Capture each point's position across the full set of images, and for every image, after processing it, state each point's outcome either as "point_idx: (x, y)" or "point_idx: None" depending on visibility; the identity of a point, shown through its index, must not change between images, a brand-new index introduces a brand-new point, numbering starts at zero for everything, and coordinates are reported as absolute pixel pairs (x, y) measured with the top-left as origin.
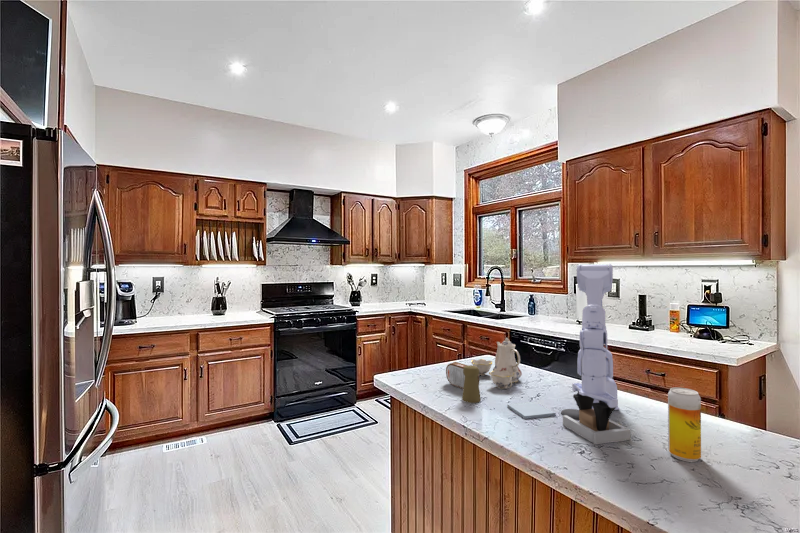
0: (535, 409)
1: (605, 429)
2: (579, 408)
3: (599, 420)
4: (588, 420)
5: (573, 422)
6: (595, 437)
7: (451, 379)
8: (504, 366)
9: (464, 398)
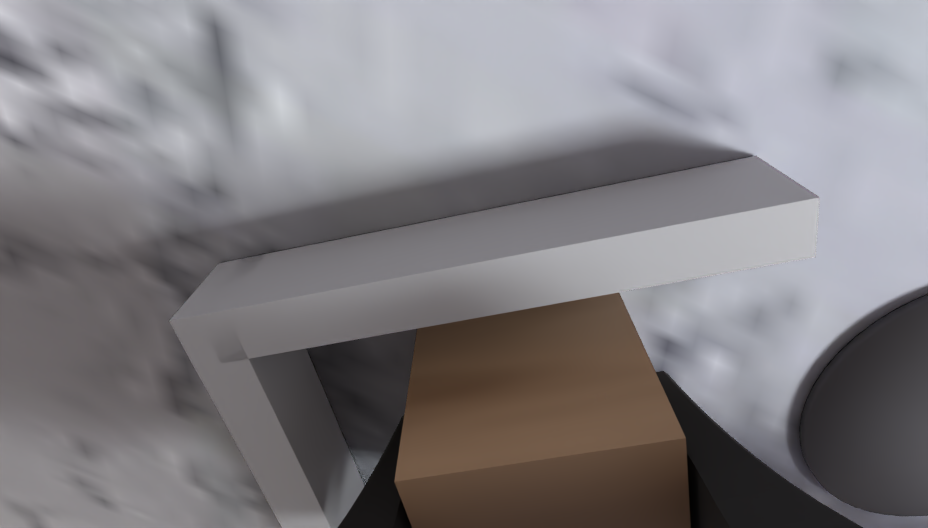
0: None
1: None
2: (743, 467)
3: (355, 507)
4: (476, 411)
5: (567, 240)
6: (191, 303)
7: None
8: None
9: None
